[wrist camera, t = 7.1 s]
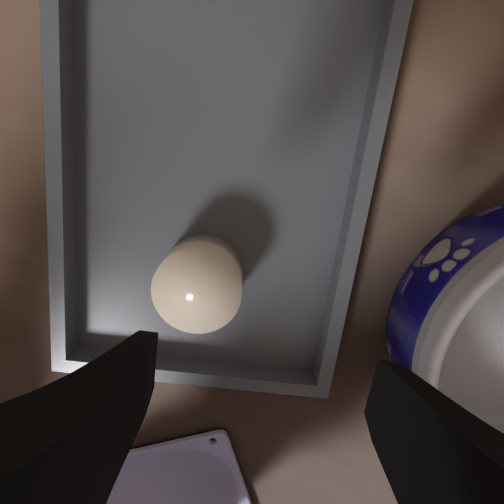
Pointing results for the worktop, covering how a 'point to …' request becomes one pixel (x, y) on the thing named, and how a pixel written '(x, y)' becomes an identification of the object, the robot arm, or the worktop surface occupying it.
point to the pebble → (198, 284)
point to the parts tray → (214, 173)
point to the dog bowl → (456, 315)
